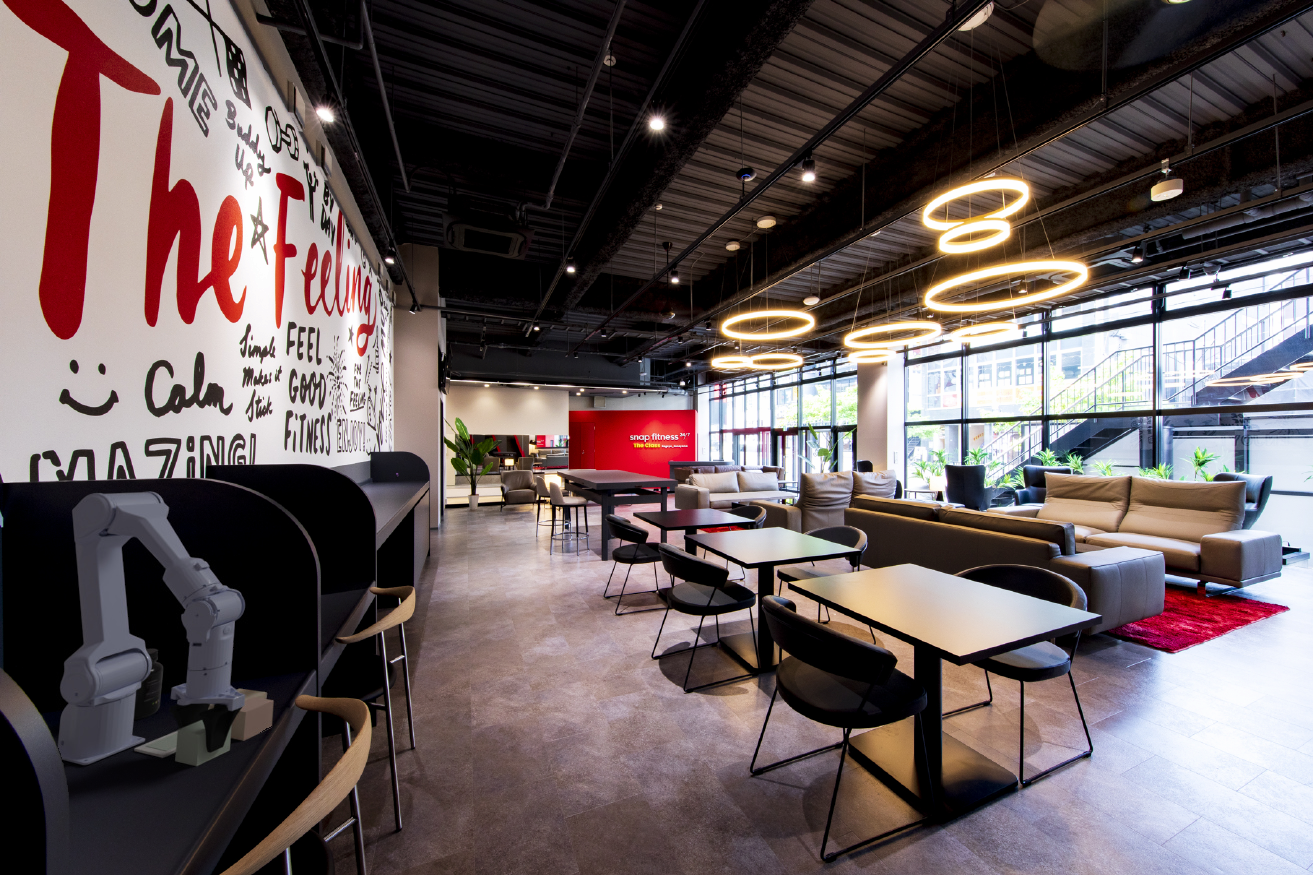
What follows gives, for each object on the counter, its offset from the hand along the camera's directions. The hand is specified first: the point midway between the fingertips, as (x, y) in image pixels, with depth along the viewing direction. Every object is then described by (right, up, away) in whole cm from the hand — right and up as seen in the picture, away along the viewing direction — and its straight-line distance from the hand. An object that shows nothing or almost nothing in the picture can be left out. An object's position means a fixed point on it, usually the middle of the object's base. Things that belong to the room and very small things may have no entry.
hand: (203, 746), depth 85 cm
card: (-8, -2, +3) cm, 9 cm away
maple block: (-6, -3, +13) cm, 14 cm away
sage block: (0, -1, 0) cm, 1 cm away
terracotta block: (+1, -2, +8) cm, 8 cm away
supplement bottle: (-25, -2, +13) cm, 29 cm away
